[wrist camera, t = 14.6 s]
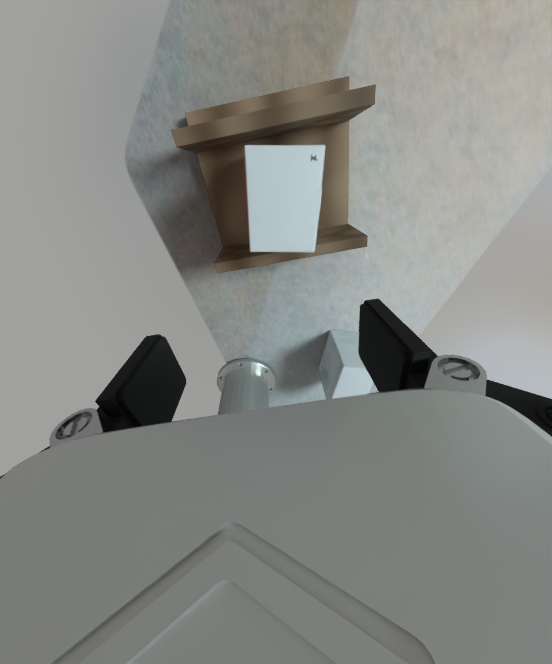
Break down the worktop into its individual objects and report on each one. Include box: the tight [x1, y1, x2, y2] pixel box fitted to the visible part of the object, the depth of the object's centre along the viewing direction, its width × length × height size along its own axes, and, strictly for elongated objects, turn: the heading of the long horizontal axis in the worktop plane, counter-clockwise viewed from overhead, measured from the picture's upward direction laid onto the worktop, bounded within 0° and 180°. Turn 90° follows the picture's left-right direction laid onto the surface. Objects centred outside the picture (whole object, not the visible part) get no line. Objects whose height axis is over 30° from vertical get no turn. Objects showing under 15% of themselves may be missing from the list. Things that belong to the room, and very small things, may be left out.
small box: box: [244, 145, 325, 253], centre depth 25 cm, size 8×6×13 cm
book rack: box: [171, 76, 376, 273], centre depth 28 cm, size 18×18×9 cm
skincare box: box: [319, 330, 374, 399], centre depth 43 cm, size 10×6×10 cm, turn 174°
